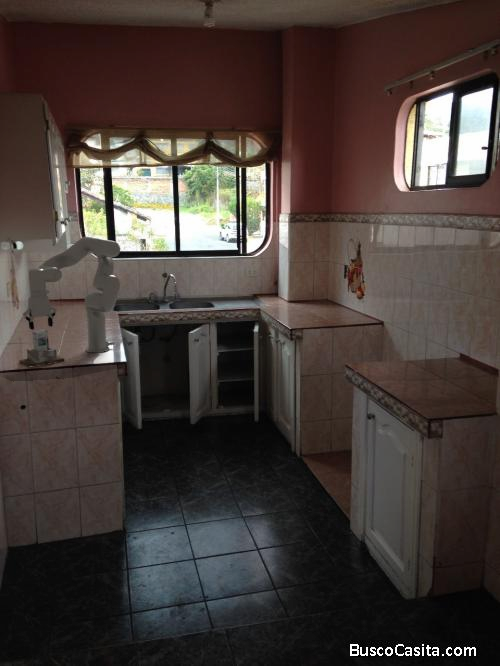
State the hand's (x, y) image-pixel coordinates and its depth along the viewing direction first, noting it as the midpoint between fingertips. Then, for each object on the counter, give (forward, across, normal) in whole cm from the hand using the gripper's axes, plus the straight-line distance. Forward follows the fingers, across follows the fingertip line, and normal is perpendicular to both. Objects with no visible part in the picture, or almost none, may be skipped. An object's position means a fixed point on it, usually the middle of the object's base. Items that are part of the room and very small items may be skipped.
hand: (41, 327), depth 297 cm
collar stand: (+18, +1, 0) cm, 18 cm away
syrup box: (+16, +1, 0) cm, 16 cm away
